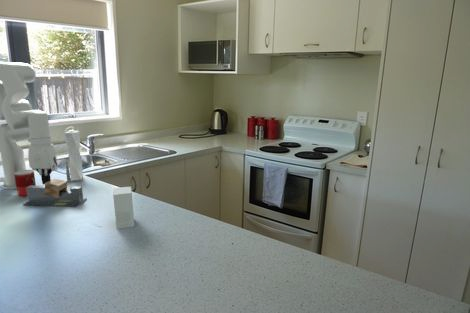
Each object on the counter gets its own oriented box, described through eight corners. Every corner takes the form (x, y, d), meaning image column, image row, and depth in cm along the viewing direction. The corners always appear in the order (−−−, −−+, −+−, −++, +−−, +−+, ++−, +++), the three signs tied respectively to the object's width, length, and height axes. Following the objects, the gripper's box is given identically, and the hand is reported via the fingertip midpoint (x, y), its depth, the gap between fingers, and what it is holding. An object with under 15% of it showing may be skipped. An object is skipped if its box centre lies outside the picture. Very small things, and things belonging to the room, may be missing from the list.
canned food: (31, 197, 157) (27, 174, 155) (13, 197, 157) (9, 174, 155) (40, 191, 165) (37, 169, 162) (24, 191, 165) (20, 169, 162)
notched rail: (23, 205, 147) (21, 189, 146) (37, 198, 156) (35, 183, 154) (76, 207, 145) (74, 191, 143) (87, 199, 154) (85, 184, 152)
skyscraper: (69, 178, 186) (63, 126, 180) (85, 176, 189) (79, 125, 182) (66, 182, 179) (60, 128, 172) (83, 181, 181) (78, 128, 175)
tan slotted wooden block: (44, 195, 146) (45, 182, 145) (53, 190, 153) (54, 178, 151) (57, 197, 146) (58, 185, 145) (66, 193, 152) (67, 181, 151)
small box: (116, 220, 131) (113, 187, 128) (134, 218, 133) (131, 186, 130) (116, 229, 123) (112, 194, 121) (134, 226, 125) (131, 192, 122)
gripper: (17, 143, 142) (24, 185, 146) (52, 143, 140) (57, 186, 144) (30, 139, 149) (36, 180, 153) (63, 140, 147) (68, 181, 151)
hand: (46, 183), depth 148 cm, fingers closed
